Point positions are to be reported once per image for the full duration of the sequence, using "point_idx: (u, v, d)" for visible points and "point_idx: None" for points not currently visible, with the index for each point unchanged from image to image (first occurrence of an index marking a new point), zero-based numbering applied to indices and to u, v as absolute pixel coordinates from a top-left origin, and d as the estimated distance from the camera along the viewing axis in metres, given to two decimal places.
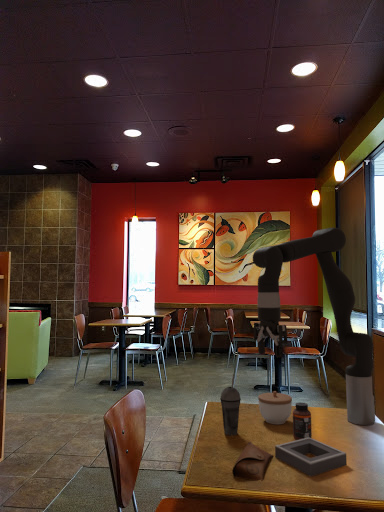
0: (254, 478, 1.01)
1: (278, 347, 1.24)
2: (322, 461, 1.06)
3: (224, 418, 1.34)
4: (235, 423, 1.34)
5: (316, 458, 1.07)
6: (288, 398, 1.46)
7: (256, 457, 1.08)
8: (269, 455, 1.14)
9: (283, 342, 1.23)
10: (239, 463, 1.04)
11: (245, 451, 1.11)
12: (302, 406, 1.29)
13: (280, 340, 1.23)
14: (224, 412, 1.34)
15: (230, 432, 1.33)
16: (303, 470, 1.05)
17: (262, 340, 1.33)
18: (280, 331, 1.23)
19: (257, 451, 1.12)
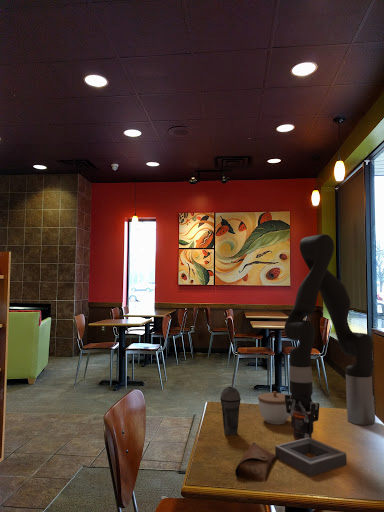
0: (257, 479, 1.01)
1: (309, 424, 1.27)
2: (322, 461, 1.06)
3: (224, 418, 1.34)
4: (235, 423, 1.34)
5: (316, 458, 1.07)
6: None
7: (260, 458, 1.08)
8: (273, 456, 1.13)
9: (314, 420, 1.25)
10: (242, 464, 1.04)
11: (248, 452, 1.10)
12: None
13: (311, 418, 1.25)
14: (224, 412, 1.34)
15: (230, 432, 1.33)
16: (303, 470, 1.05)
17: None
18: (313, 410, 1.25)
19: (261, 452, 1.11)
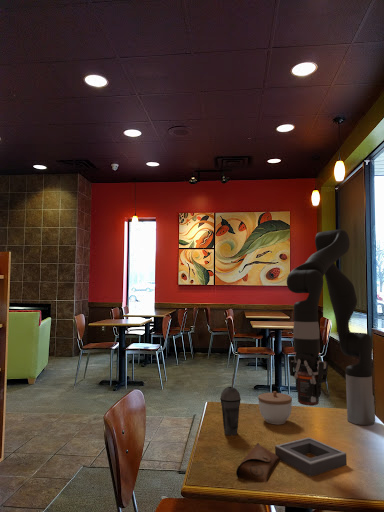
0: (258, 480, 1.01)
1: (316, 386, 1.11)
2: (322, 461, 1.06)
3: (224, 418, 1.34)
4: (235, 423, 1.34)
5: (316, 458, 1.07)
6: (288, 398, 1.46)
7: (262, 459, 1.07)
8: (277, 457, 1.13)
9: (322, 381, 1.10)
10: (243, 464, 1.03)
11: (251, 453, 1.10)
12: None
13: (319, 379, 1.10)
14: (224, 412, 1.34)
15: (230, 432, 1.33)
16: (303, 470, 1.05)
17: None
18: (321, 369, 1.09)
19: (264, 453, 1.11)
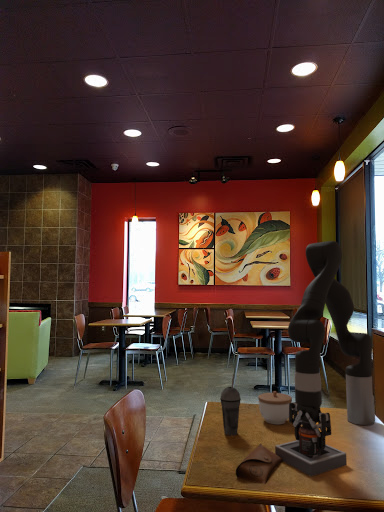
0: (257, 480, 1.00)
1: (320, 439, 1.09)
2: (322, 461, 1.06)
3: (224, 418, 1.34)
4: (235, 423, 1.34)
5: (316, 458, 1.07)
6: (288, 398, 1.46)
7: (262, 459, 1.07)
8: (279, 458, 1.12)
9: (327, 434, 1.07)
10: (243, 464, 1.03)
11: (252, 453, 1.10)
12: None
13: (323, 432, 1.07)
14: (224, 412, 1.34)
15: (230, 432, 1.33)
16: (303, 470, 1.05)
17: (299, 424, 1.17)
18: (323, 421, 1.08)
19: (265, 453, 1.10)
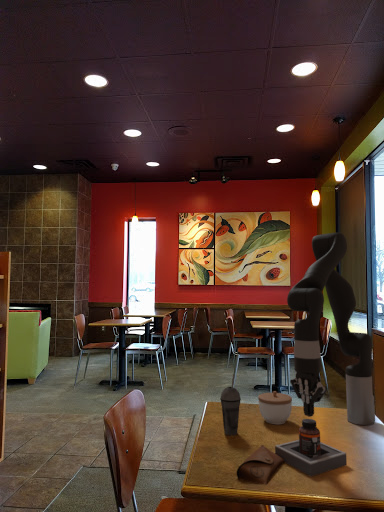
0: (257, 481, 1.00)
1: (309, 405, 1.13)
2: (322, 461, 1.06)
3: (224, 418, 1.34)
4: (235, 423, 1.34)
5: (316, 458, 1.07)
6: (288, 398, 1.46)
7: (264, 460, 1.06)
8: (281, 459, 1.11)
9: None
10: (244, 465, 1.03)
11: (253, 454, 1.09)
12: (310, 424, 1.12)
13: (313, 399, 1.11)
14: (224, 412, 1.34)
15: (230, 432, 1.33)
16: (303, 470, 1.05)
17: None
18: (318, 393, 1.10)
19: (267, 454, 1.10)
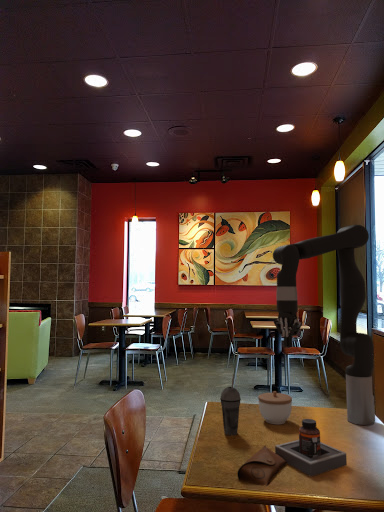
0: (258, 482, 0.99)
1: (288, 338, 1.40)
2: (322, 461, 1.06)
3: (224, 418, 1.34)
4: (235, 423, 1.34)
5: (316, 458, 1.07)
6: (288, 398, 1.46)
7: (265, 461, 1.05)
8: (283, 461, 1.10)
9: (292, 335, 1.39)
10: (245, 466, 1.02)
11: (255, 455, 1.09)
12: (310, 424, 1.12)
13: (291, 333, 1.38)
14: (224, 412, 1.34)
15: (230, 432, 1.33)
16: (303, 470, 1.05)
17: None
18: (294, 327, 1.37)
19: (269, 455, 1.09)
